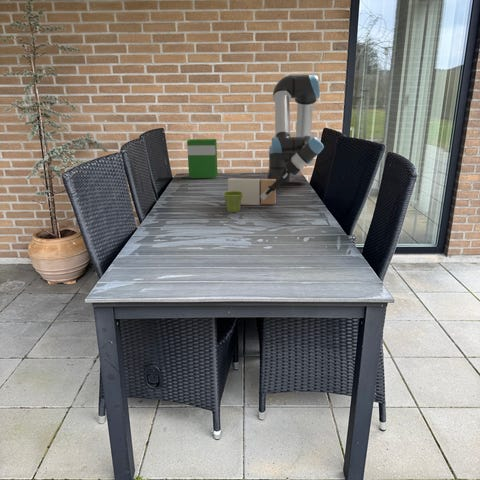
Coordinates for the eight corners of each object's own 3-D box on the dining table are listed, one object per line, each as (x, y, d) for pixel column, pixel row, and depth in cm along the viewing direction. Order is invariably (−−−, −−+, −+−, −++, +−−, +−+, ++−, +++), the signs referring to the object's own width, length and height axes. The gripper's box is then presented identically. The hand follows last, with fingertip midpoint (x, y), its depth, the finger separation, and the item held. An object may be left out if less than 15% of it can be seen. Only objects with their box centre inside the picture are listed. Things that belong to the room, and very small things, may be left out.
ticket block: (229, 202, 229) (229, 178, 225) (261, 203, 226) (261, 178, 222) (228, 204, 226) (227, 179, 222) (260, 204, 223) (260, 180, 219)
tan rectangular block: (261, 202, 226) (261, 178, 222) (275, 202, 225) (275, 179, 221) (260, 203, 223) (260, 180, 219) (274, 204, 222) (275, 180, 218)
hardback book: (217, 176, 294) (216, 139, 286) (216, 178, 287) (214, 140, 280) (191, 176, 296) (189, 139, 288) (189, 178, 289) (186, 140, 281)
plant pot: (220, 212, 212) (219, 194, 209) (229, 207, 220) (229, 190, 217) (237, 214, 208) (237, 196, 205) (246, 209, 216) (246, 192, 213)
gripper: (300, 174, 205) (265, 206, 213) (302, 165, 226) (270, 195, 234) (288, 162, 205) (254, 195, 213) (291, 155, 225) (260, 185, 233)
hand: (263, 195), depth 223 cm, fingers open, 9 cm apart
